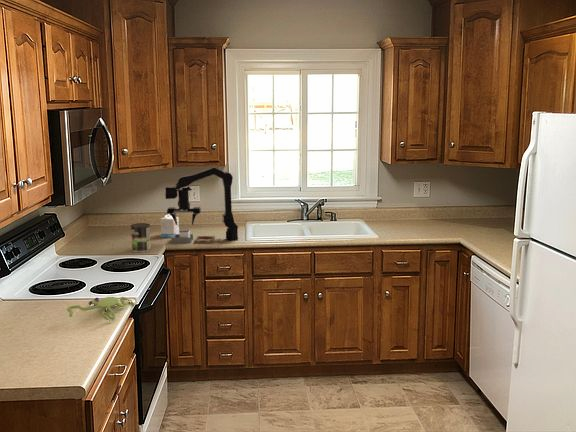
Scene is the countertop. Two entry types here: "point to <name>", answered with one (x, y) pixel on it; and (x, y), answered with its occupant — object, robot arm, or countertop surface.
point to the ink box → (169, 226)
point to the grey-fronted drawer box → (184, 233)
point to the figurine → (102, 305)
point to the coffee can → (140, 237)
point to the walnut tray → (204, 239)
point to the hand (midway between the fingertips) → (184, 225)
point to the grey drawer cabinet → (181, 239)
